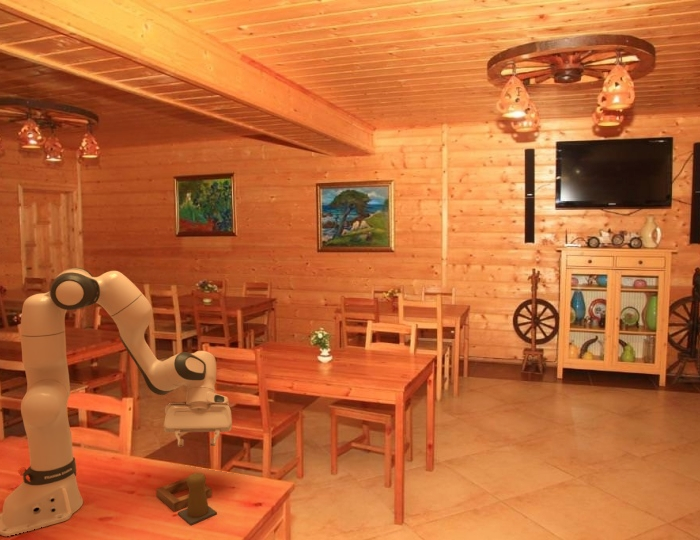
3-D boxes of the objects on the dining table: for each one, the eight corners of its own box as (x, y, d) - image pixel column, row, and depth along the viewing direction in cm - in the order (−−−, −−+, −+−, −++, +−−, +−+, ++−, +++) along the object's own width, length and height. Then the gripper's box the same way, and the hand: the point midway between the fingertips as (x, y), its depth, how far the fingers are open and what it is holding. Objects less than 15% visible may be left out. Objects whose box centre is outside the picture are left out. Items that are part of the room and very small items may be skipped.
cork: (200, 504, 161) (198, 468, 160) (213, 510, 158) (211, 473, 156) (182, 513, 157) (180, 476, 156) (195, 520, 153) (193, 482, 152)
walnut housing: (174, 511, 159) (174, 503, 158) (156, 496, 167) (156, 488, 167) (211, 496, 167) (211, 488, 167) (193, 482, 176) (192, 475, 175)
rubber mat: (190, 525, 151) (190, 523, 151) (177, 514, 157) (177, 512, 157) (216, 514, 157) (216, 512, 157) (203, 503, 163) (203, 501, 163)
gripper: (164, 397, 168) (159, 443, 160) (233, 397, 172) (230, 441, 164) (166, 405, 173) (161, 449, 166) (233, 405, 177) (230, 448, 169)
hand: (196, 445), depth 165 cm, fingers open, 8 cm apart
